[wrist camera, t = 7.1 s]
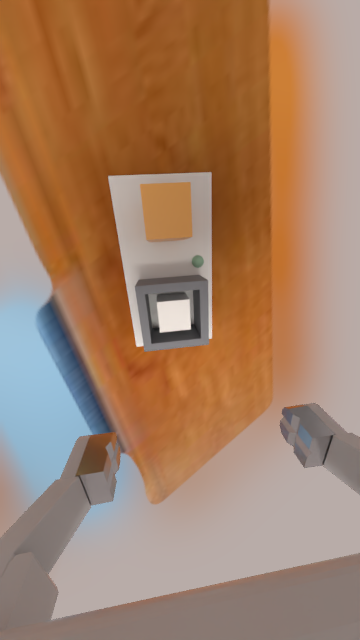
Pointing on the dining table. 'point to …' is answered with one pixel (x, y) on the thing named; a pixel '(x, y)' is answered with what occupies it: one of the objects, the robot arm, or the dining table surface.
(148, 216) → the orange rectangular block
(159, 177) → the breaker panel
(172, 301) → the button
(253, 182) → the dining table surface
